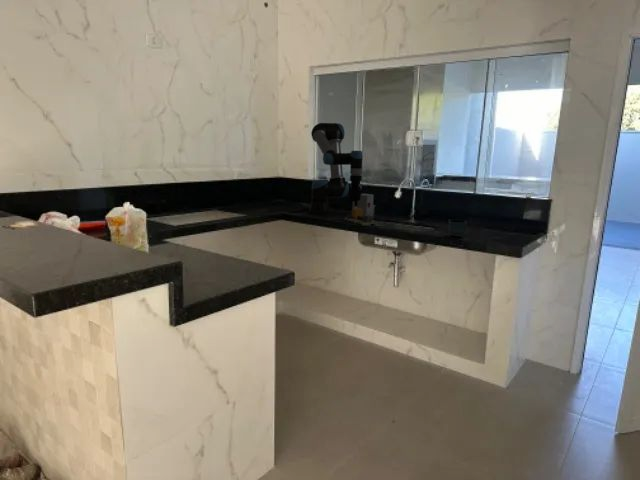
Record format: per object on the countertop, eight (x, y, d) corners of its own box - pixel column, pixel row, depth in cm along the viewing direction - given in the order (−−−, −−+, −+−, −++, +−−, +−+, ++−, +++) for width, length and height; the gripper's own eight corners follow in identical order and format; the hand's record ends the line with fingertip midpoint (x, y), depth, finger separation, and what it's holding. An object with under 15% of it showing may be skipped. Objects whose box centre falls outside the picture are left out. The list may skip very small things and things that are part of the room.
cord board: (344, 220, 297) (344, 212, 296) (359, 218, 303) (359, 211, 302) (363, 225, 280) (363, 217, 279) (378, 224, 286) (378, 216, 285)
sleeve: (351, 217, 295) (351, 208, 294) (358, 217, 298) (359, 208, 297) (355, 218, 292) (355, 209, 290) (362, 218, 295) (362, 209, 294)
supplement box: (366, 217, 308) (367, 195, 305) (355, 215, 314) (356, 194, 310) (373, 215, 316) (374, 194, 312) (362, 214, 321) (363, 193, 317)
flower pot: (446, 234, 261) (448, 219, 259) (462, 235, 260) (464, 219, 258) (449, 237, 252) (450, 222, 250) (465, 238, 251) (467, 222, 249)
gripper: (345, 174, 294) (344, 209, 300) (357, 175, 284) (355, 212, 289) (354, 174, 298) (353, 209, 304) (366, 175, 288) (365, 212, 293)
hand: (354, 210), depth 296 cm, fingers closed
